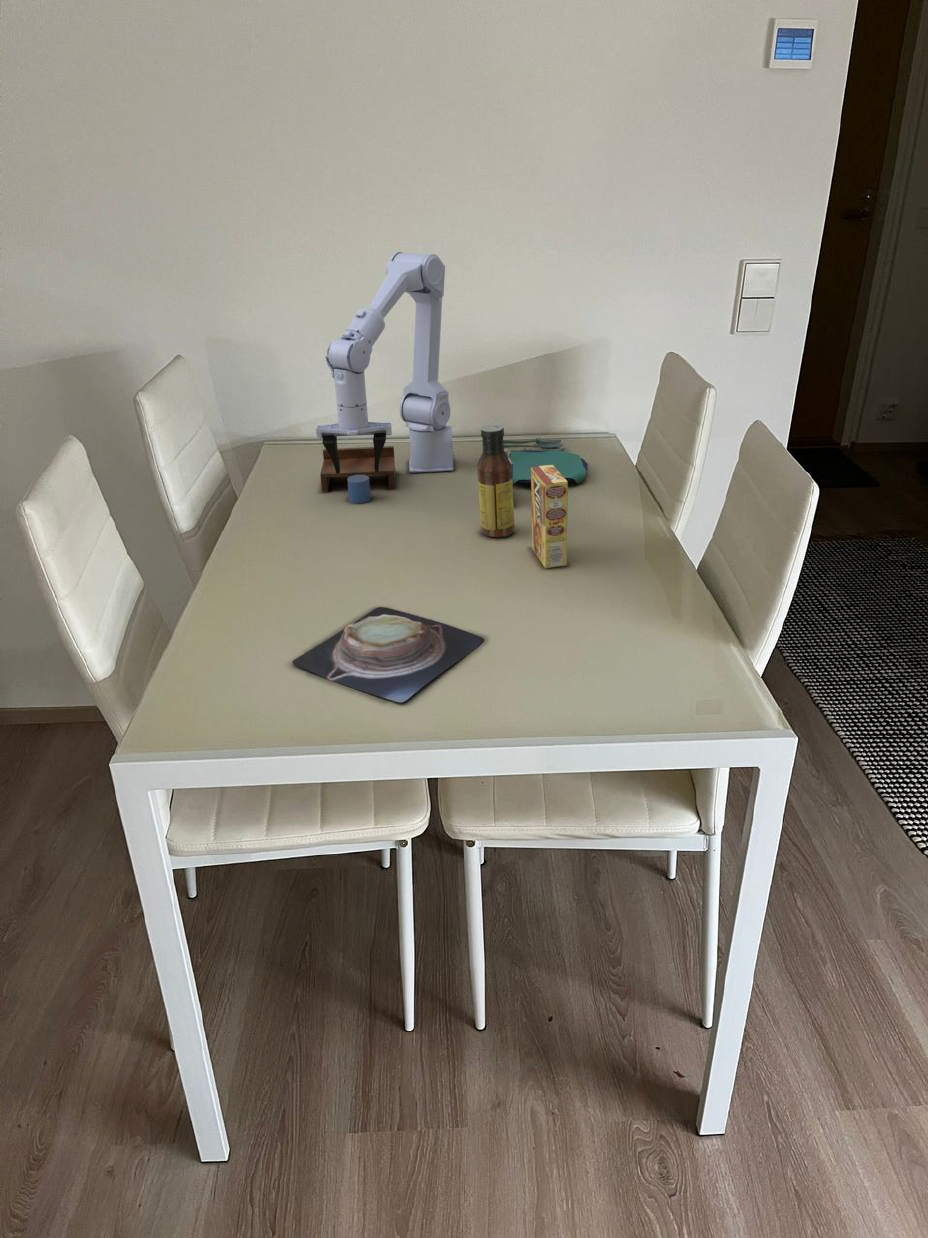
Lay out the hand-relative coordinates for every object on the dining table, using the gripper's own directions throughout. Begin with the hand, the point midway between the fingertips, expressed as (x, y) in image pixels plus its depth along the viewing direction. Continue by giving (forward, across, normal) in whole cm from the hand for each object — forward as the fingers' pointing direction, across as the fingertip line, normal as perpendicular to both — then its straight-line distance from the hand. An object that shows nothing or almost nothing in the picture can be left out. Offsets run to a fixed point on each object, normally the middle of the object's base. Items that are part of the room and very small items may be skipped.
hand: (357, 470), depth 191 cm
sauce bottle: (+6, +26, -20) cm, 33 cm away
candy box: (+6, +34, -32) cm, 47 cm away
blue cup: (+6, 0, 0) cm, 6 cm away
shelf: (+6, 0, +10) cm, 12 cm away
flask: (+6, +29, -4) cm, 30 cm away
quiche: (+6, +7, -62) cm, 63 cm away
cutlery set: (+6, +38, +15) cm, 41 cm away
